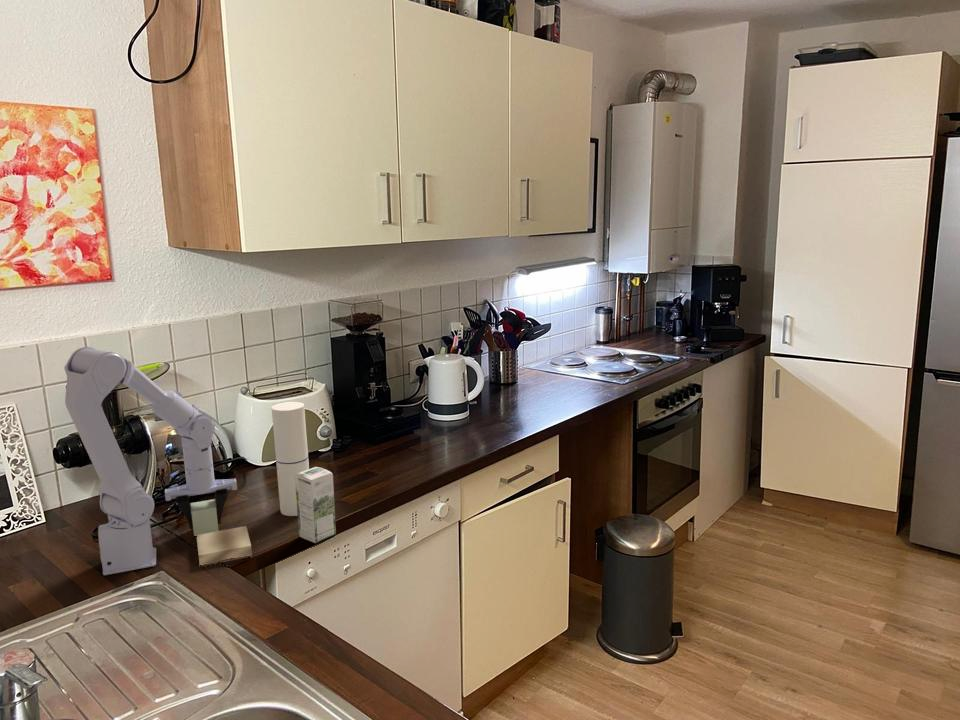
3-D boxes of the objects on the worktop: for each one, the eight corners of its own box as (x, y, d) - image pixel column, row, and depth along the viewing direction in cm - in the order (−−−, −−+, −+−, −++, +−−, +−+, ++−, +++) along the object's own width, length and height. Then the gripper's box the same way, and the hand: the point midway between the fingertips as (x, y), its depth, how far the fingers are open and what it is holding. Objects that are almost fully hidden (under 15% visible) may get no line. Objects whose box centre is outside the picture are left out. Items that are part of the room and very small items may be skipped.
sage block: (194, 537, 161) (191, 511, 159) (193, 528, 165) (190, 503, 164) (218, 533, 163) (216, 507, 161) (217, 524, 167) (214, 499, 166)
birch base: (200, 569, 148) (198, 555, 147) (198, 548, 157) (196, 534, 156) (252, 559, 152) (251, 545, 151) (247, 538, 161) (246, 526, 160)
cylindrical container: (292, 518, 169) (283, 412, 164) (274, 510, 174) (265, 406, 168) (318, 508, 174) (310, 405, 169) (300, 500, 179) (292, 400, 173)
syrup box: (319, 527, 164) (315, 465, 161) (337, 534, 161) (332, 471, 157) (298, 537, 160) (293, 473, 157) (316, 544, 156) (311, 479, 153)
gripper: (232, 455, 167) (238, 511, 170) (162, 465, 162) (169, 523, 165) (235, 465, 161) (241, 524, 164) (162, 476, 155) (169, 536, 158)
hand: (205, 524), depth 164 cm, fingers closed on sage block, 5 cm apart
